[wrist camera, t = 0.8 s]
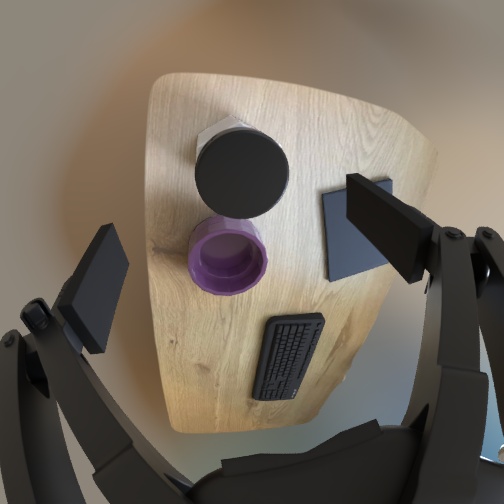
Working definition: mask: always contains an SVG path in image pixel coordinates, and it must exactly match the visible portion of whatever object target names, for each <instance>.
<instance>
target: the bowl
mask: <svg viewBox="0 0 504 504" xmlns="http://www.w3.org/2000/svg"><path fill="white" fill-rule="evenodd" d="M267 263H268V258H267V253H266V249H265V246H264V244H263V241H262V239H261V236H260V234H259V232H258V230H257V229H256V228H255V227H254V225H253V224H252V223H251V222H250V221H248V220H246V219H232V218H228V217H224V216H222V215H217V216H214V217H210V218H207V219H206V220H205V221H203V222H202V223H201V224H199V225H198V226H197V227H196V228H195V230H194V232H193V233H192V235H191V237H190V239H189V249H188V271H189V273H190V276H191V278H192V280H193V282H194V283H196V284H197V285H198V286H199V287H200V288H201V289H202V290H204V291H206V292H209V293H211V294H214V295H222V296H232V295H236V294H239V293H243V292H245V291H247V290H249V289H250V288H252V287H253V286H255V285H256V284H257V283H258V282H259V280H260V279H261V278H262V277H263V275H264V274H265V271H266V267H267Z"/></svg>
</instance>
